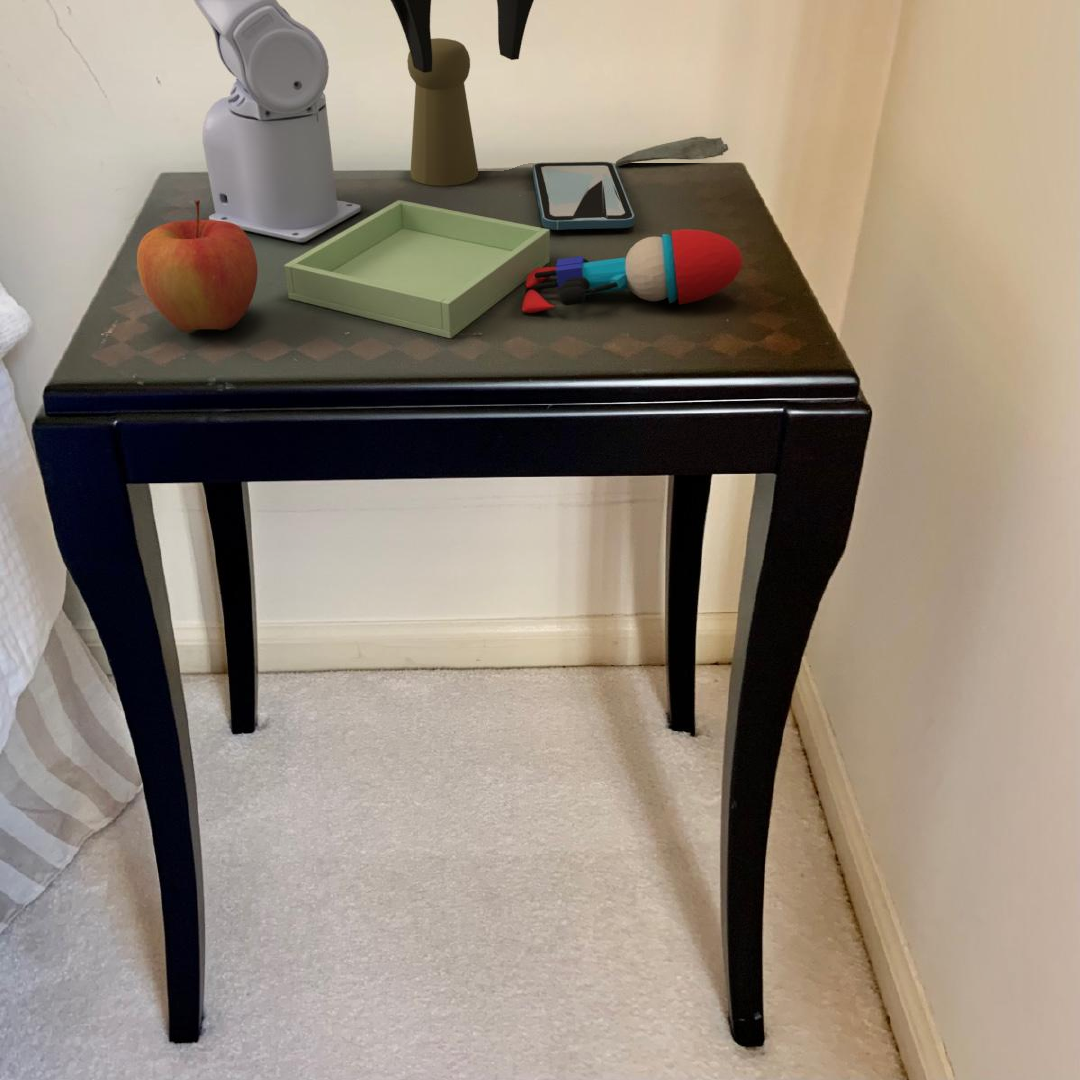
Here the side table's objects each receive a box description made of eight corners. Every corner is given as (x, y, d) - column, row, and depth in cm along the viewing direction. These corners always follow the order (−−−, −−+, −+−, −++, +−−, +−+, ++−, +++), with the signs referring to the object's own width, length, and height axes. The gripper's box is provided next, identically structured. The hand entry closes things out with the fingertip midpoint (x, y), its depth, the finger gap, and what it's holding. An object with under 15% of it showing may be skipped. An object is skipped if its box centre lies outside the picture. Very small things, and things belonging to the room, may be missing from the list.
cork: (449, 158, 100) (443, 28, 93) (492, 174, 97) (489, 41, 90) (396, 173, 97) (386, 40, 90) (438, 190, 93) (431, 53, 87)
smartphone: (614, 161, 97) (637, 219, 85) (613, 172, 98) (636, 231, 85) (531, 162, 97) (542, 221, 85) (531, 173, 97) (542, 233, 85)
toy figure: (525, 340, 74) (748, 312, 72) (512, 270, 72) (743, 238, 69) (534, 301, 81) (740, 274, 78) (523, 235, 78) (735, 205, 76)
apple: (136, 350, 70) (106, 229, 65) (174, 301, 76) (149, 187, 71) (248, 354, 70) (227, 232, 65) (278, 304, 75) (261, 189, 71)
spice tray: (288, 298, 76) (283, 264, 75) (401, 230, 86) (398, 199, 85) (450, 339, 71) (448, 303, 70) (549, 261, 81) (550, 229, 80)
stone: (623, 159, 96) (602, 140, 100) (623, 177, 97) (602, 157, 101) (736, 142, 99) (712, 124, 103) (735, 159, 100) (710, 140, 104)
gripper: (386, -126, 73) (402, 87, 81) (573, -138, 78) (571, 62, 87) (348, -136, 78) (367, 66, 86) (526, -147, 83) (528, 43, 92)
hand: (466, 63), depth 87 cm, fingers open, 7 cm apart
